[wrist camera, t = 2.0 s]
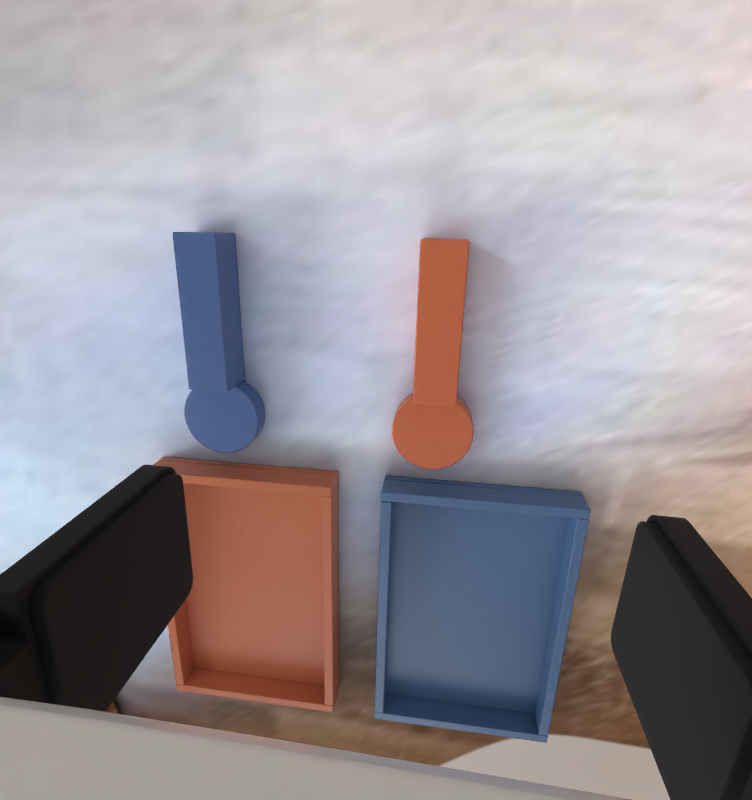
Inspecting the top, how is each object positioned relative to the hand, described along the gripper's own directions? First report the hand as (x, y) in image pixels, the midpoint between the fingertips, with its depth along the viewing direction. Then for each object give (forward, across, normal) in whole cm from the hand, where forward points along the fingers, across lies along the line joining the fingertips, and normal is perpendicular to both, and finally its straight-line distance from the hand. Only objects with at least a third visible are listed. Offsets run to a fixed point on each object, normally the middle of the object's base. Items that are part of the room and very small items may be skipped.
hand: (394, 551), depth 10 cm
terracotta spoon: (+18, 0, 0) cm, 18 cm away
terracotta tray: (+18, +10, +16) cm, 26 cm away
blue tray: (+18, -4, +16) cm, 24 cm away
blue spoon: (+18, +12, 0) cm, 21 cm away
